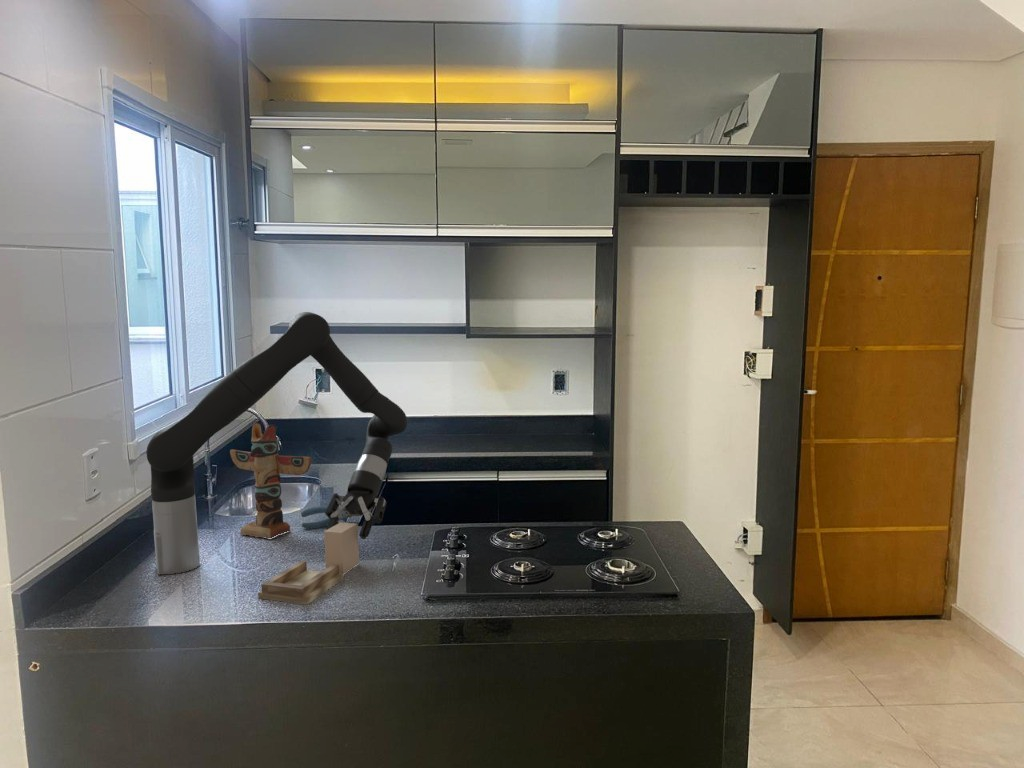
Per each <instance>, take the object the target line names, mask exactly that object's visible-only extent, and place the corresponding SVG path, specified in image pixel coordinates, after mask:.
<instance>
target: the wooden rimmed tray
mask: <svg viewBox="0 0 1024 768" xmlns="http://www.w3.org/2000/svg"><path fill="white" fill-rule="evenodd" d="M342 579H343V580H344V575H343V574H339V565H335V564H333V565H331V566H330V567H328V568H327V569H326V568H325V569H324V570H322V571H319V570H311V569H310V570H309V569H308V567H307V561H306V560H304V561H303V560H299V561H297V562H296V563H295V564H293V565H291V566H290V567H288V568H286V569H284V570H282V571H281V572H280V573H278V574H276V575H274V576H272V577H271V578H269V579H267V580H265V581H264V582H263V583H261V590H260V591H258V593H257V597H258V599H260V600H261V599H263V600H270V601H278V602H285V603H291V604H301V605H309V604H310V603H312V602H313V601H315V600H316V599H317V598H319V597H320V596H322V595H323V594H325V593H326V592H328V591H329V590H330V589H332V588H333V587H334V586H336V585H337V584H338V582H339V581H340V582H342V581H343V580H342ZM340 582H339V583H340ZM335 584H336V585H335ZM332 586H333V587H332ZM328 589H329V590H328Z"/></svg>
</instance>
